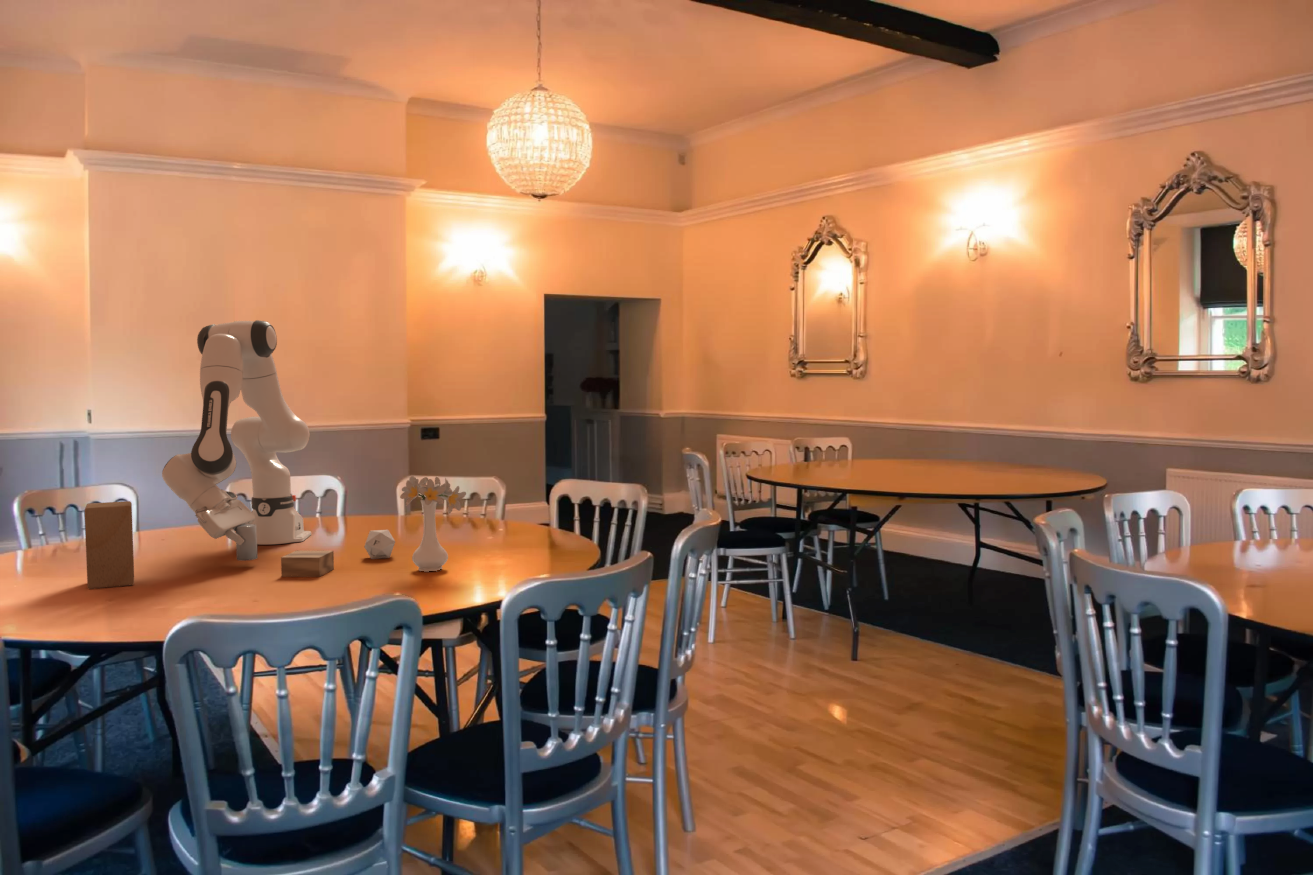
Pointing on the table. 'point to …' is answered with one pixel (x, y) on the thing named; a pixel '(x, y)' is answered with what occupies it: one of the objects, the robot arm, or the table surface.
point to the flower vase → (431, 518)
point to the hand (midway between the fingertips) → (248, 540)
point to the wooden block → (109, 544)
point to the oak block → (307, 563)
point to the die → (379, 544)
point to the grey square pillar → (247, 542)
